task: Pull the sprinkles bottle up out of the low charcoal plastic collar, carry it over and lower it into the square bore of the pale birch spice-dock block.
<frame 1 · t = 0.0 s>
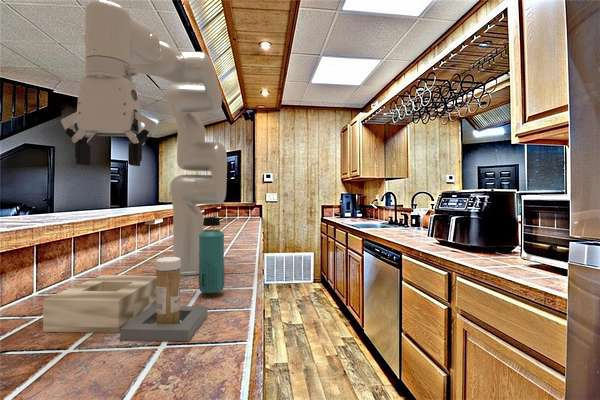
hand: (108, 165, 62), 31 cm above the counter, fingers open, 9 cm apart
birch dock block: (109, 314, 70), on the counter
charcoal collar: (167, 326, 64), on the counter
beverage bottle: (211, 295, 84), on the counter
sprinkles bottle: (167, 328, 64), resting in charcoal collar
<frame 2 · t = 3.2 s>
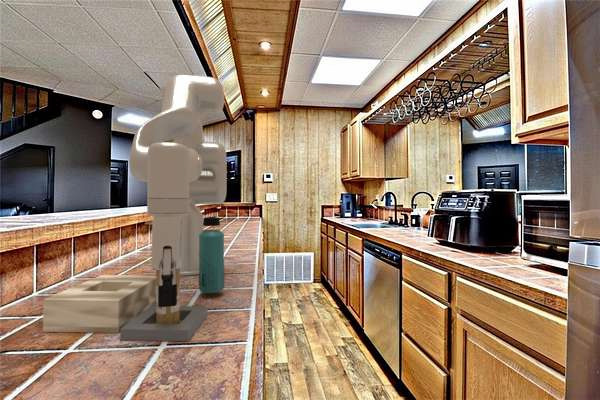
hand: (168, 300, 64), 5 cm above the counter, fingers closed on sprinkles bottle, 4 cm apart
sprinkles bottle: (167, 328, 64), resting in charcoal collar, touching gripper
everything else where it was.
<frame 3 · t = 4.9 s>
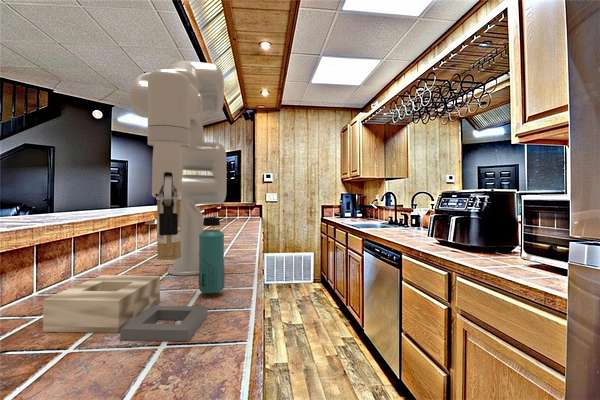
hand: (168, 231, 64), 19 cm above the counter, fingers closed on sprinkles bottle, 4 cm apart
sprinkles bottle: (168, 259, 65), point 13 cm above the counter, touching gripper
everything else where it was.
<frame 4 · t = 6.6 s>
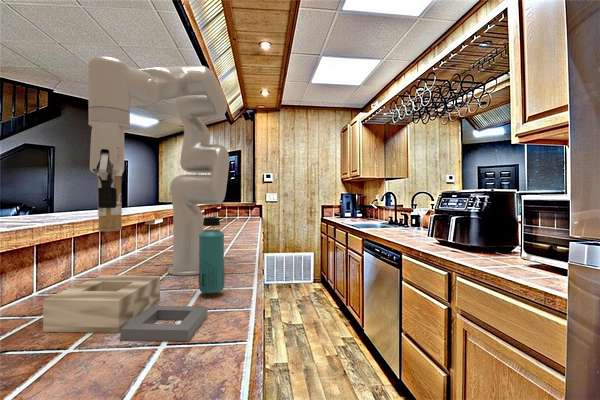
hand: (110, 206, 70), 23 cm above the counter, fingers closed on sprinkles bottle, 4 cm apart
sprinkles bottle: (110, 231, 70), point 18 cm above the counter, touching gripper
everything else where it was.
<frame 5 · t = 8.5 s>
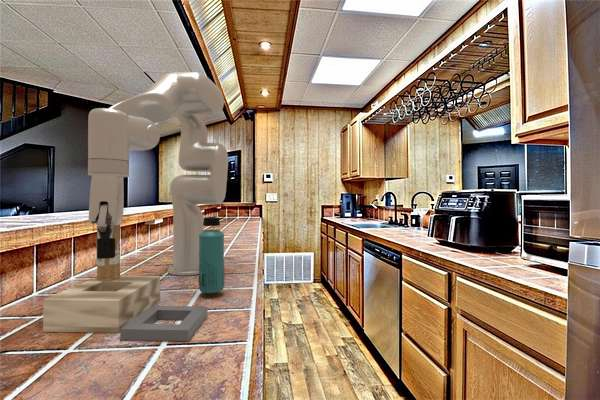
hand: (108, 254, 70), 13 cm above the counter, fingers closed on sprinkles bottle, 4 cm apart
sprinkles bottle: (108, 280, 70), point 7 cm above the counter, touching gripper
everything else where it was.
when the fingers open (7 cm above the counter, at t = 9.9 s): sprinkles bottle drops 1 cm, resting on birch dock block.
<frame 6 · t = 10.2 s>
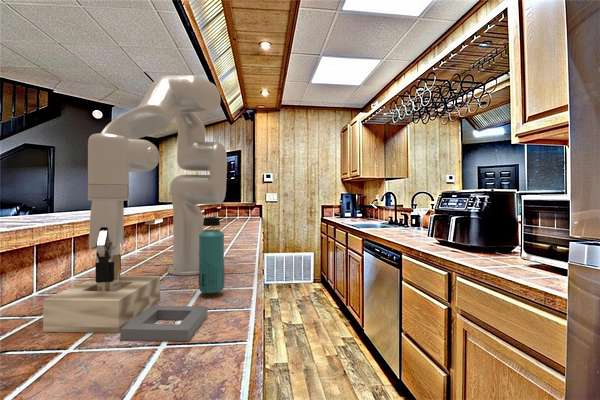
hand: (109, 276, 70), 8 cm above the counter, fingers open, 7 cm apart
sprinkles bottle: (109, 309, 70), point 1 cm above the counter, touching birch dock block
everything else where it was.
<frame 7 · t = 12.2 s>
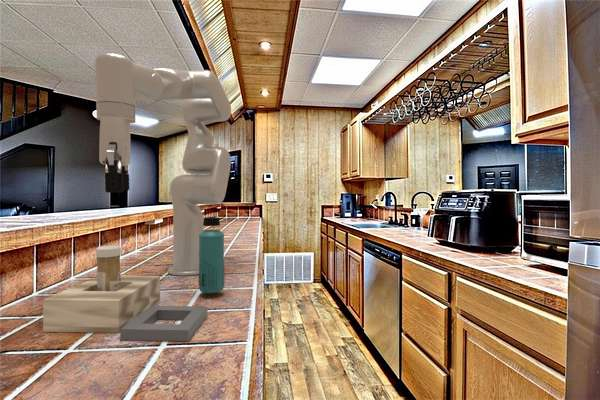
hand: (118, 191, 74), 26 cm above the counter, fingers open, 9 cm apart
nothing on the counter moved.
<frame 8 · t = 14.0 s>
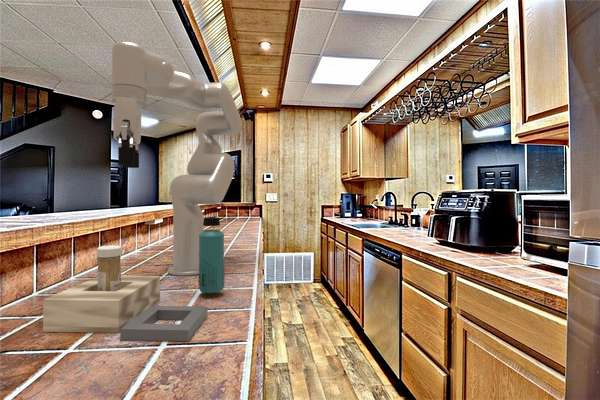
hand: (129, 166, 81), 32 cm above the counter, fingers open, 9 cm apart
nothing on the counter moved.
at the end: sprinkles bottle 0.2 cm off-centre on the birch dock block, point 0.8 cm above the birch dock block's base; sprinkles bottle tilted 1°; the gripper is holding nothing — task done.
